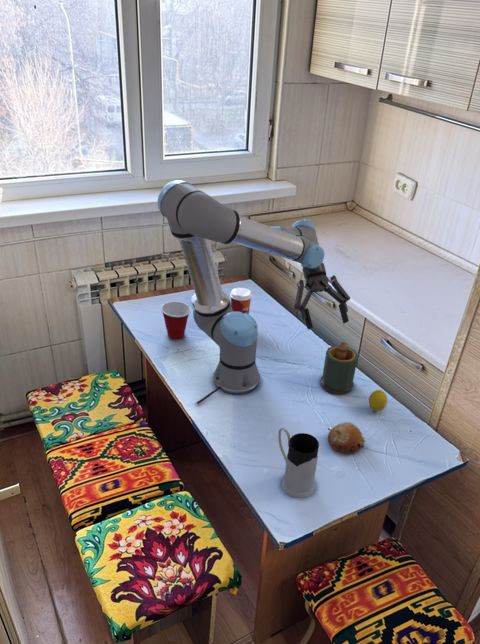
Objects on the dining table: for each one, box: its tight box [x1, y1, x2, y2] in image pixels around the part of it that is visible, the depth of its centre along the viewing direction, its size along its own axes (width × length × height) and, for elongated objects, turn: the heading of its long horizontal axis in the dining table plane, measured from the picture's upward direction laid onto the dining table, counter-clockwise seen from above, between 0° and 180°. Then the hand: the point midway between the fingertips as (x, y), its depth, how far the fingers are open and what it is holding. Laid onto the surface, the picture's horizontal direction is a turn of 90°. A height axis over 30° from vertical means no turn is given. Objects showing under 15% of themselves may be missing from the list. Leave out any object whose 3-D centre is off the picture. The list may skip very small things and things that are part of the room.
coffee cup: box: [229, 287, 253, 315], centre depth 212 cm, size 8×8×15 cm
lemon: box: [368, 389, 388, 412], centre depth 176 cm, size 6×6×8 cm
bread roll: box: [327, 421, 366, 455], centre depth 163 cm, size 10×10×8 cm
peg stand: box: [319, 341, 354, 396], centre depth 184 cm, size 11×11×17 cm
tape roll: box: [321, 344, 359, 390], centre depth 185 cm, size 10×10×11 cm
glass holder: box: [277, 427, 320, 499], centre depth 147 cm, size 9×14×15 cm, turn 36°
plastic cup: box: [160, 300, 192, 341], centre depth 204 cm, size 11×11×12 cm
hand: (328, 325), depth 186 cm, fingers open, 13 cm apart
